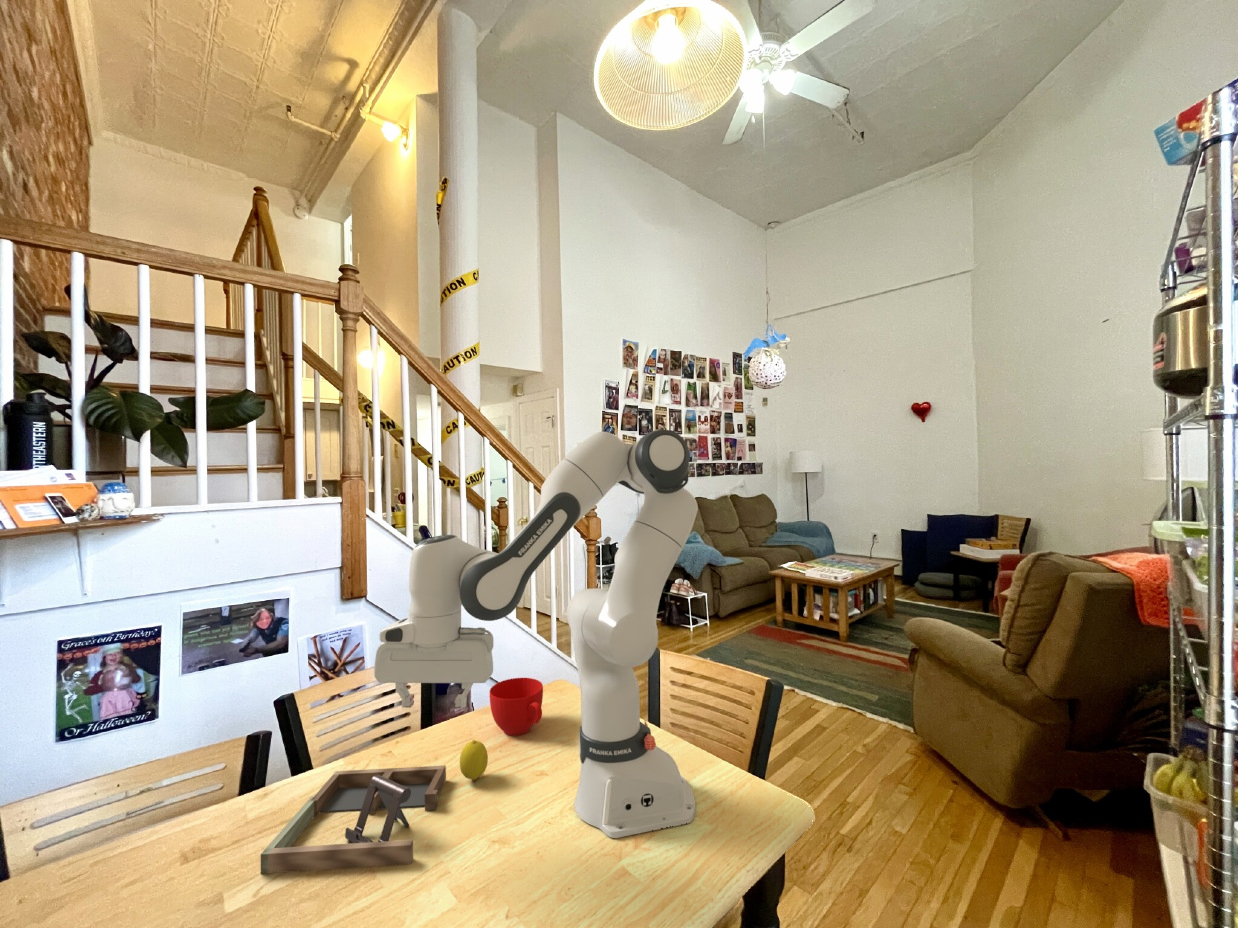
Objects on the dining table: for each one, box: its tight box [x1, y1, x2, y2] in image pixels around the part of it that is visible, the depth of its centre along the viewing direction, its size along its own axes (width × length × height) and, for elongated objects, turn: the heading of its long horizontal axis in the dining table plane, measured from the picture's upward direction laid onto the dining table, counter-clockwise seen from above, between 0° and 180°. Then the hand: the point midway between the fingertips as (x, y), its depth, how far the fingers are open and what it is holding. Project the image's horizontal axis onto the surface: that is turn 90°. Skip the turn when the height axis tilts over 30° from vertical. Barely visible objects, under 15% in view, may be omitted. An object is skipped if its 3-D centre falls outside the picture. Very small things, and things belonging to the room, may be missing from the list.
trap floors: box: [320, 783, 430, 814], centre depth 98 cm, size 20×7×1 cm, turn 93°
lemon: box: [459, 739, 489, 781], centre depth 104 cm, size 6×6×8 cm
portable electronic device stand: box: [344, 775, 411, 843], centre depth 88 cm, size 9×8×8 cm
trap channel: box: [260, 765, 447, 874], centre depth 92 cm, size 23×23×3 cm
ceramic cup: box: [489, 677, 544, 736], centre depth 123 cm, size 13×17×10 cm
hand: (434, 706), depth 89 cm, fingers open, 8 cm apart
